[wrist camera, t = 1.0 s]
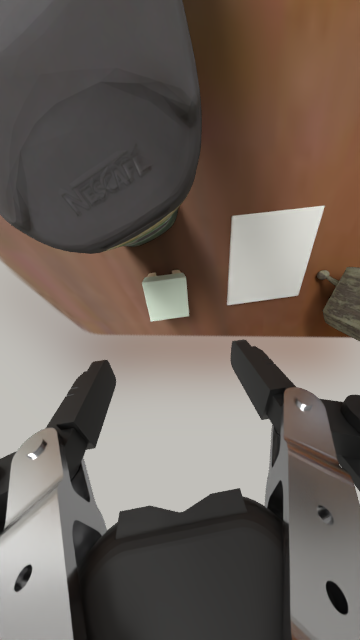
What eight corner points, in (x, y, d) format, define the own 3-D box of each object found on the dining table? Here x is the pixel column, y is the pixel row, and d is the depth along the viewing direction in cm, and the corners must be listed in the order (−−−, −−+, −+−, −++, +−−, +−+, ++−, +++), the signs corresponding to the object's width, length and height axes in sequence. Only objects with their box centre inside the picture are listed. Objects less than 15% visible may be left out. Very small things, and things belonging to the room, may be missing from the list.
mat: (231, 216, 22) (232, 215, 21) (322, 206, 22) (324, 205, 22) (226, 304, 28) (227, 305, 28) (296, 294, 29) (298, 295, 29)
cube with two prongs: (147, 272, 24) (142, 282, 18) (180, 268, 24) (186, 277, 18) (153, 302, 27) (150, 321, 20) (183, 298, 27) (189, 316, 21)
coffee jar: (155, 150, 18) (76, -928, 1) (183, 222, 21) (253, 159, 5) (89, 194, 19) (-371, -104, 3) (127, 254, 23) (35, 289, 6)
